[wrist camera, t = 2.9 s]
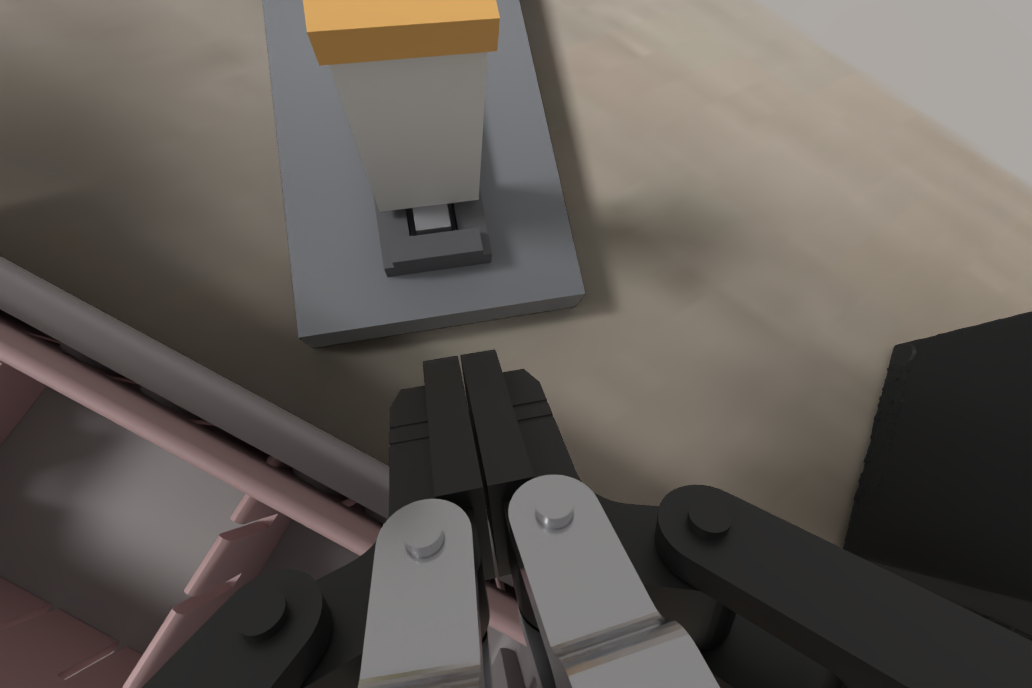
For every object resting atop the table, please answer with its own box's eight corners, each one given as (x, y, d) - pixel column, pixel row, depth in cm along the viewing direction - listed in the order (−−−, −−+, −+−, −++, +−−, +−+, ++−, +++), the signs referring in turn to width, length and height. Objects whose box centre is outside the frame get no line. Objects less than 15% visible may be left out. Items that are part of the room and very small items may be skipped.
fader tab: (486, 234, 22) (506, 46, 12) (382, 247, 21) (311, 62, 11) (472, 159, 22) (479, -78, 12) (371, 170, 22) (294, -69, 12)
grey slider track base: (575, 306, 24) (593, 281, 20) (312, 347, 22) (285, 328, 19) (486, -97, 28) (489, -172, 25) (263, -88, 27) (235, -167, 23)
